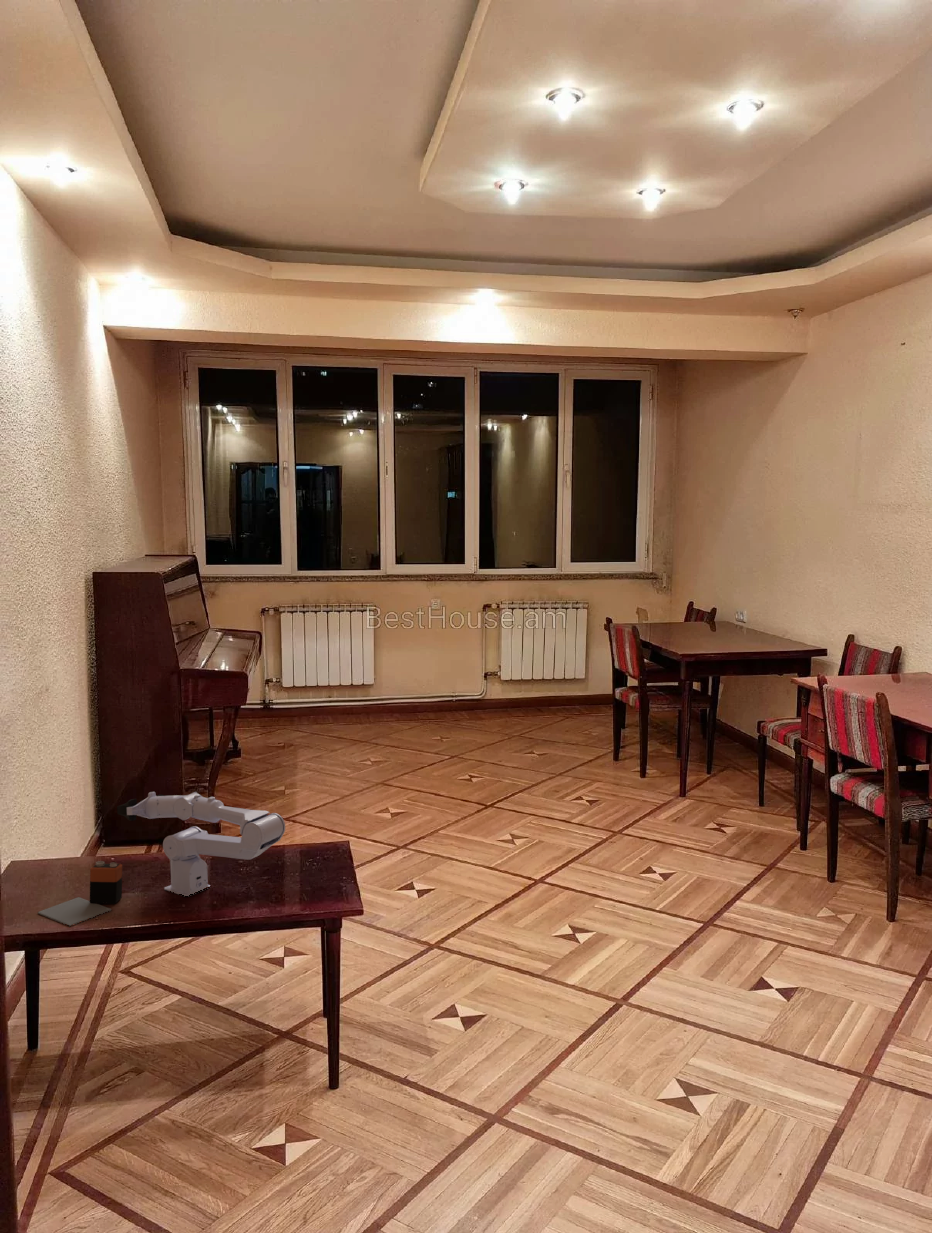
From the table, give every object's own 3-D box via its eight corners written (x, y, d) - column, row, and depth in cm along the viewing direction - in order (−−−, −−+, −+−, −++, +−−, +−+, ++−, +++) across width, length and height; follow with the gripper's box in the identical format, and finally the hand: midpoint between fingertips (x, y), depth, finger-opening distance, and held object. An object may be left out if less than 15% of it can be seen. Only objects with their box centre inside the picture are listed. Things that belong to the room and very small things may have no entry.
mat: (111, 910, 216) (111, 909, 216) (70, 926, 207) (70, 925, 207) (78, 898, 224) (78, 896, 224) (37, 913, 215) (37, 911, 215)
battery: (95, 897, 224) (96, 859, 224) (122, 898, 224) (123, 860, 224) (88, 903, 219) (89, 864, 219) (115, 904, 220) (116, 865, 219)
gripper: (184, 788, 238) (149, 789, 245) (142, 795, 226) (107, 796, 232) (186, 813, 238) (151, 815, 244) (144, 822, 225) (108, 823, 231)
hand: (129, 807), depth 238 cm, fingers open, 7 cm apart
